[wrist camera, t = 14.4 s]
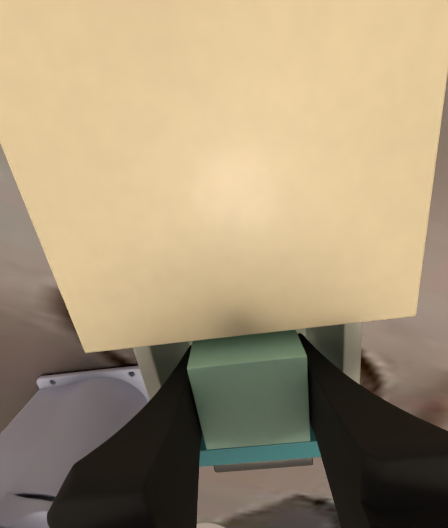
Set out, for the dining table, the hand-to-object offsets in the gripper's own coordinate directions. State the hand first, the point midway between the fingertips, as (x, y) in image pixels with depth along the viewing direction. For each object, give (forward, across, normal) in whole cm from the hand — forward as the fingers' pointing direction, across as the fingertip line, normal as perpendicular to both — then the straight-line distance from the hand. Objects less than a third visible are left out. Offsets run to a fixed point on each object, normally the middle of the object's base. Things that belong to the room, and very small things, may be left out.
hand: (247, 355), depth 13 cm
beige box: (+7, 0, -10) cm, 12 cm away
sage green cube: (+1, 0, 0) cm, 1 cm away
